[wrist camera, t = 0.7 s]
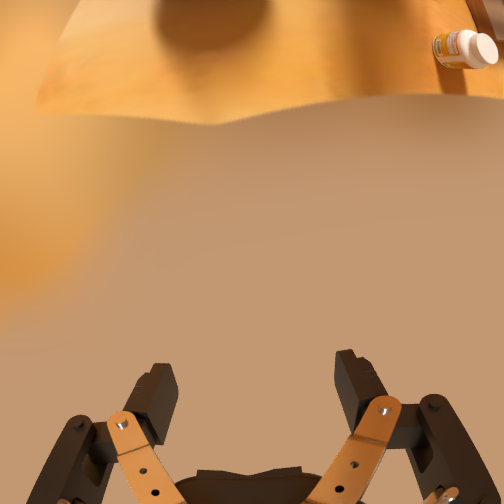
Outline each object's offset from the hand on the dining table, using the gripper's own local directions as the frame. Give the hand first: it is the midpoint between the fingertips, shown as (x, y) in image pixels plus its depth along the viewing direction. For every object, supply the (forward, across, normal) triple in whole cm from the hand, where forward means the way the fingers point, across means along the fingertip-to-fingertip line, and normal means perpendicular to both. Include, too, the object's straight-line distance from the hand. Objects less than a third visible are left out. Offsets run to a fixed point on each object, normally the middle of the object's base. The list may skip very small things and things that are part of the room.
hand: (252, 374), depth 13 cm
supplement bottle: (+20, -30, -27) cm, 45 cm away
